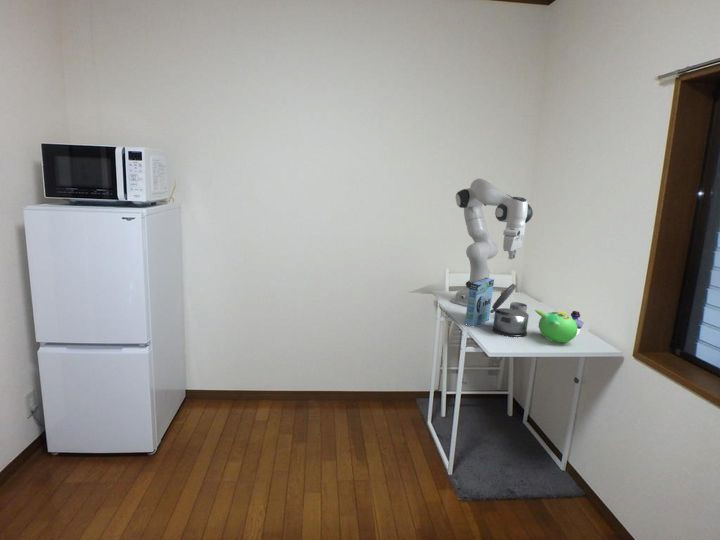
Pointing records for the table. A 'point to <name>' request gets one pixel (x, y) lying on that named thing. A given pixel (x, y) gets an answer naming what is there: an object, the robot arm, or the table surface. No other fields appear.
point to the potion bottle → (575, 317)
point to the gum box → (479, 301)
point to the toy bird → (557, 326)
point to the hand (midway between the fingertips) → (511, 258)
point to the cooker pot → (510, 322)
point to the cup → (518, 306)
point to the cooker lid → (503, 297)
